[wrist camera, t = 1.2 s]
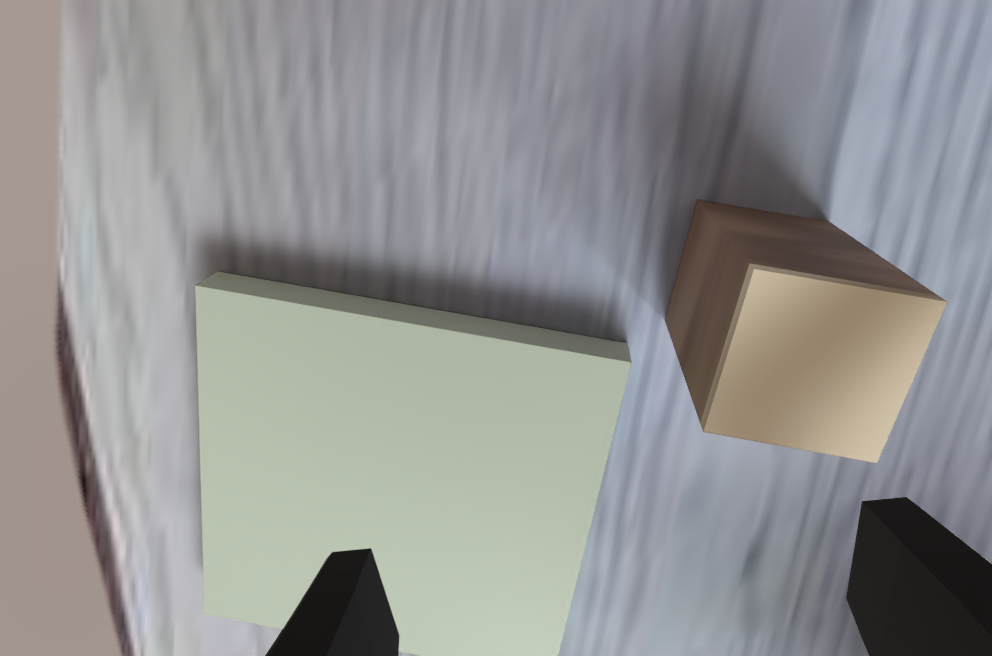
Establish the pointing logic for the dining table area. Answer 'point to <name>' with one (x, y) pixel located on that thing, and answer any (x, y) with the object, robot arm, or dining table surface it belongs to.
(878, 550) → the robot arm
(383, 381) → the board
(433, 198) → the dining table surface
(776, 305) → the block
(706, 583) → the dining table surface
